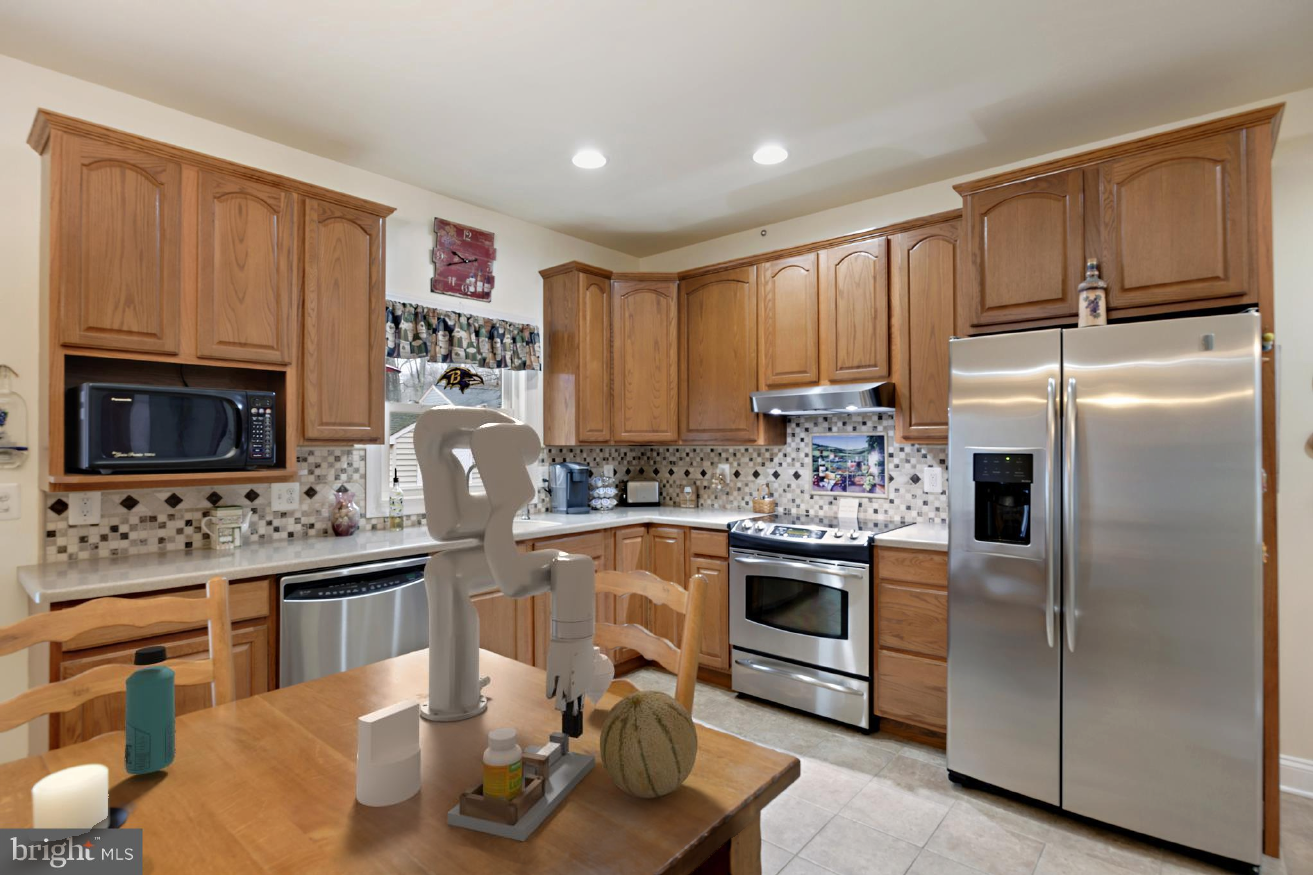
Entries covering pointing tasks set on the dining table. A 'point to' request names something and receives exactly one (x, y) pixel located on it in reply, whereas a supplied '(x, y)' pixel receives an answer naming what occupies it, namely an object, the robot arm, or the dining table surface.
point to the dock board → (557, 787)
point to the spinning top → (600, 677)
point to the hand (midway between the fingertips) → (572, 734)
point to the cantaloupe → (648, 744)
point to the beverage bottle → (150, 713)
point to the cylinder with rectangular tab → (389, 755)
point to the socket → (501, 802)
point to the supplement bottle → (502, 765)
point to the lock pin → (550, 752)
